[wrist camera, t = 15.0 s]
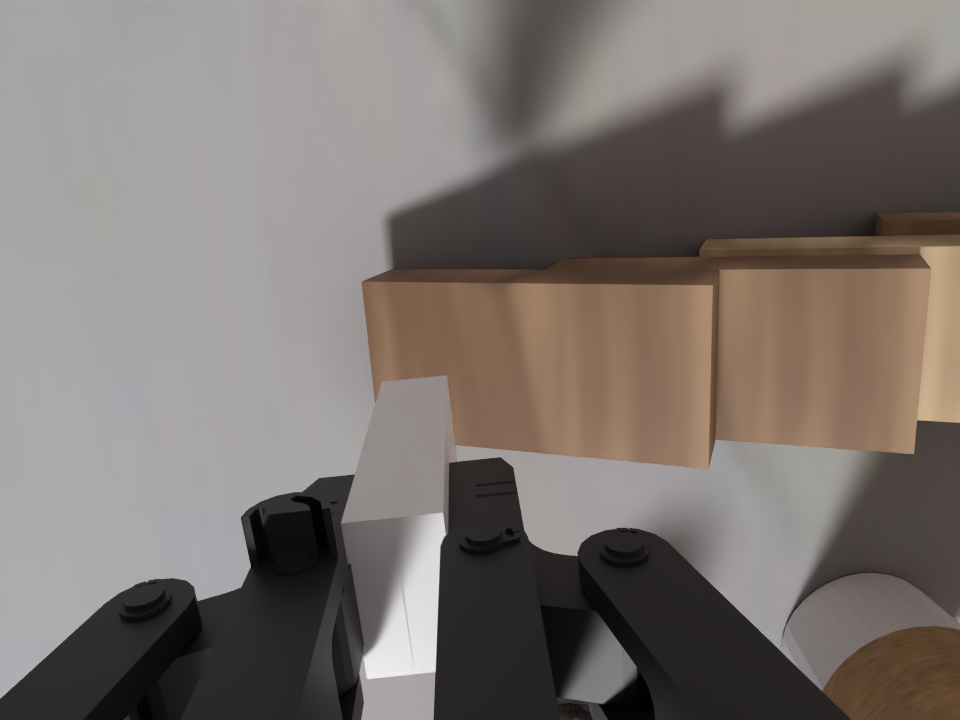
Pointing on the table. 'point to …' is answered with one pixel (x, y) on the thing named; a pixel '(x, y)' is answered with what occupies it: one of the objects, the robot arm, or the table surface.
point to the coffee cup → (878, 649)
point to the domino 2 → (812, 346)
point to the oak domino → (951, 306)
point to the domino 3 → (917, 223)
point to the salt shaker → (574, 712)
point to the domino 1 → (558, 356)
